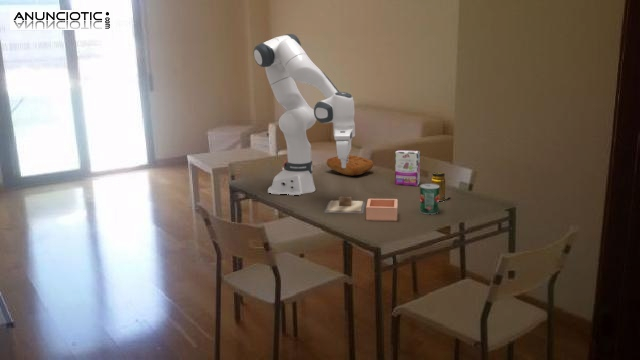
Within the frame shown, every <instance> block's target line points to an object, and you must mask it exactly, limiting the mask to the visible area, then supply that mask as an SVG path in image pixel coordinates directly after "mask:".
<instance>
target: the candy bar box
mask: <svg viewBox="0 0 640 360" xmlns="http://www.w3.org/2000/svg"><path fill="white" fill-rule="evenodd" d="M420 154H421V151H420V150H402V149H401V150H400V149H397V150H396V151H395V153H394V161H395V162H394V164H395V165H394V172H395V173H394V179H395V180H394V185H396V186H410V187H411V186H412V187H418V186H420V185H421V184H420V179H421V178H420V177H421V175H420V174H421V173H420V172H421V170H420V169H421V167H420V165H421V161H420V160H421V155H420Z"/></svg>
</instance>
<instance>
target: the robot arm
mask: <svg viewBox="0 0 640 360" xmlns="http://www.w3.org/2000/svg"><path fill="white" fill-rule="evenodd" d="M253 57H254V60H255V62H256V64H257V65H259V67H261V68H264V69H265V74H266V77H267V78H266V79H267V80H268V83H269V86H270V87H271V91H272V92H273V95H274V97H275V99H276V102H277V103H278V104H279V105H281V106H282V107H283V108H284V109H285V112H284V113H283V114H281V115H280V117H279V119H278V126H279V130H280V131H281V132H282V134H283V136H284V141H285V142H286V151H287V152H286V153H287V159H286V160H284V162H283V170H281V171H280V172H279V173H277V174H276V175H275V176H274V177H273V180H272V183H271V184H272V185H270V186H269V187H268V189H267V193H268V194H269V193H271V194H270V195H280V194H287V195H286V196H294V195H299V196H302V195H301V194H308V193H313V192H315V191H316V187H315V186H316V185H315V182H314V178H313V171H314V169H313V168H314V166H313V165H314V164H313V160H312V144H311V143H310V142H309V139H308V136H307V135H308V134H307V130H309V129H311V128H312V127H313V126H314V125H315V124H316V121H317V122H319V123H321V124H330V123H332V125H333V126H332V130H333V137H334V141H335V145H336V148H335V149H336V153H337V154H336V155H337V156H338V159H341V165H342V168H346V163H348V157H349V155H350V152H351V151H352V141H353V138H354V137H355V136H356V122H355V119H354V118H355V112H356V110H355V101H354V97H353V95H352V94H351V93H348V92H345V91H340V90H338V88H337V86H335V84H334V83H333V82H332V81H331V79H330V78H329V77H328V76H327V74H326V73H325V72H324V71H323V70H322V69H320V68H319V67H318V66H317V65H316V64H315V63H314V62H313V61H312V60H311V58H310V57H309V56H308V54H307V53H306V51H305V50H304V49H303V48H302V44H301V41H300V39H299V38H298V36H297V35H295V34H294V33H286V34H284V35H280V36H276V37H273V38H272V39H268V40H267V41H265V42H260V43H259V44H257V45H256V46H255V47H254V49H253ZM296 82H297V83H302V84H307V85H309V86H310V85H311V86H313V87H314V88H317V89H318V90H319V91H320V92H321V94H322V95H323V97H325V99H322V100H320V101H317V102H316V104H314V108H313V107H311V106H310V105H309V104H308V103H307V101H306V99H305V98H304V97H303V95H302V94H301V91H300V90H299V88H298V86H297V83H296ZM288 194H289V195H288Z"/></svg>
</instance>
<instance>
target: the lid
mask: <svg viewBox="0 0 640 360" xmlns="http://www.w3.org/2000/svg"><path fill="white" fill-rule="evenodd" d="M363 202H364V200H352V196H339V197H338V200H332V199H331V200H330V204H329V206H328V209H327V212H361V209H362V205H363Z"/></svg>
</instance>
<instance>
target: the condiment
mask: <svg viewBox="0 0 640 360" xmlns="http://www.w3.org/2000/svg"><path fill="white" fill-rule="evenodd" d="M445 175H446V174H445V172H443V171H435V172H433V173H432V175H431V176H432V177H431V183H430V184H437V185H439V186H440V187H439V201H442V200H444V199H445V197H446V177H445Z"/></svg>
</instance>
